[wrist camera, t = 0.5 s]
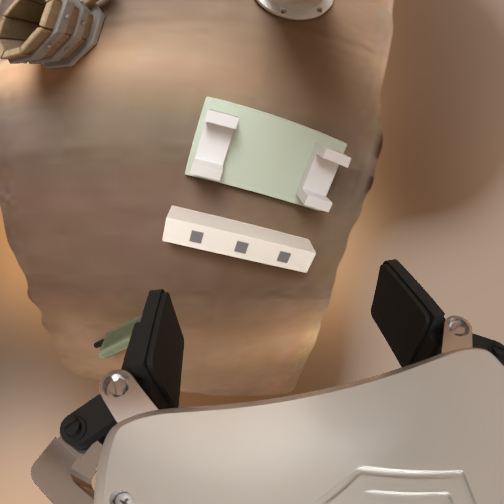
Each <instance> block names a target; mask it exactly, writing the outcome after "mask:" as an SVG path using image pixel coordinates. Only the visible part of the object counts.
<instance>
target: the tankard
mask: <svg viewBox="0 0 504 504" xmlns="http://www.w3.org/2000/svg"><path fill="white" fill-rule="evenodd" d="M97 1H99V0H15V1H14V2H13V3H12V4H11V5H10V7H9V8H8V9H7V10H6V11H5V13H4V14H3V16H4V17H1V20H0V58H1V59H8V60H9V62H10V63H27V62H29V63H30V64H40V63H42V65H43V66H44V68H45V69H50V68H59V67H71V66H74V65H75V64H76V63H77V62H78V61H79V60H80V59H81V58H82V57H83V56H84V55H85V54H86V53H87V52H88V51H89V50H90V49H92V48H93V47H94V46H95V45H96V44H97V41H98V38H99V34H100V31H101V28H102V24H103V21H104V18H105V14H104V13H103V11H102V10H101V9H100V7H99V6H98V5H97V4H96V2H97Z"/></svg>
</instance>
